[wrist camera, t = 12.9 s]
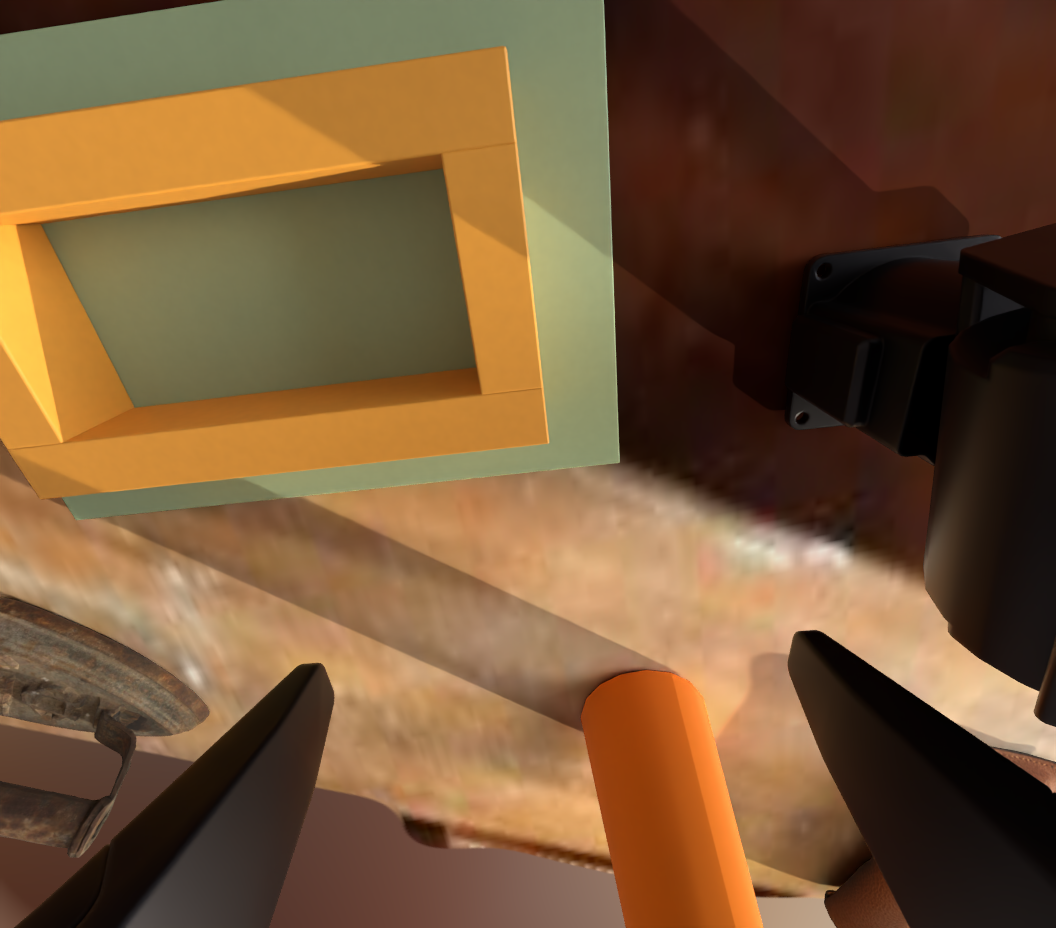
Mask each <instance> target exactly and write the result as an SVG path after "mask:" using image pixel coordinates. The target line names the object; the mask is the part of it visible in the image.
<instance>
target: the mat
mask: <svg viewBox="0 0 1056 928" xmlns="http://www.w3.org/2000/svg"><path fill="white" fill-rule="evenodd" d="M498 46H505V47H506V49H507V53H508V63H509V72H510V81H511V90H512V100H513V109H514V118H515V128H516V137H517V146H518V156H519V165H520V174H521V184H522V193H523V202H524V211H525V221H526V230H527V239H528V249H529V258H530V267H531V277H532V286H533V295H534V305H535V314H536V323H537V332H538V342H539V351H540V360H541V370H542V379H543V388H544V398H545V407H546V416H547V426H548V435H549V443H548V444H541V445H532V446H523V447H513V448H504V449H495V450H486V451H477V452H468V453H459V454H450V455H441V456H432V457H423V458H414V459H405V460H396V461H387V462H377V463H368V464H359V465H350V466H341V467H332V468H323V469H314V470H305V471H296V472H287V473H278V474H269V475H260V476H250V477H241V478H232V479H223V480H214V481H205V482H196V483H187V484H178V485H169V486H160V487H151V488H142V489H133V490H124V491H114V492H105V493H96V494H87V495H78V496H69V497H62V499H63V501H64V502H65V504H66V505H67V507H68V508H69V510H70V511H71V513H72V515H73V516H74V518H75V519H76V520H83V519H92V518H102V517H111V516H120V515H130V514H139V513H149V512H158V511H168V510H177V509H187V508H196V507H206V506H215V505H225V504H234V503H243V502H253V501H262V500H272V499H281V498H291V497H300V496H310V495H319V494H329V493H338V492H348V491H357V490H366V489H376V488H385V487H395V486H404V485H414V484H423V483H433V482H442V481H452V480H461V479H471V478H480V477H489V476H499V475H508V474H518V473H527V472H537V471H546V470H556V469H565V468H575V467H584V466H594V465H603V464H612V463H619V462H620V461H619V432H618V403H617V373H616V344H615V315H614V285H613V256H612V227H611V197H610V168H609V139H608V109H607V80H606V50H605V21H604V0H223V1H216V2H210V3H203V4H197V5H190V6H184V7H177V8H171V9H164V10H158V11H151V12H145V13H138V14H132V15H125V16H119V17H112V18H106V19H99V20H93V21H86V22H80V23H74V24H67V25H61V26H54V27H48V28H41V29H35V30H28V31H22V32H15V33H9V34H2V35H0V121H2V120H8V119H15V118H22V117H28V116H35V115H42V114H49V113H55V112H62V111H69V110H75V109H82V108H89V107H96V106H102V105H109V104H116V103H122V102H129V101H136V100H143V99H149V98H156V97H163V96H169V95H176V94H183V93H190V92H196V91H203V90H210V89H216V88H223V87H230V86H237V85H243V84H250V83H257V82H263V81H270V80H277V79H284V78H290V77H297V76H304V75H310V74H317V73H324V72H331V71H337V70H344V69H351V68H357V67H364V66H371V65H378V64H384V63H391V62H398V61H404V60H411V59H418V58H425V57H431V56H438V55H445V54H451V53H458V52H465V51H472V50H478V49H485V48H492V47H498ZM41 226H42V227H43V229H44V231H45V233H46V235H47V237H48V239H49V241H50V243H51V245H52V247H53V249H54V251H55V253H56V255H57V257H58V259H59V261H60V263H61V264H62V266H63V268H64V270H65V272H66V274H67V276H68V278H69V280H70V282H71V284H72V286H73V288H74V290H75V292H76V294H77V296H78V298H79V300H80V302H81V304H82V306H83V307H84V309H85V311H86V313H87V315H88V317H89V319H90V321H91V323H92V325H93V327H94V329H95V331H96V333H97V335H98V337H99V339H100V341H101V343H102V345H103V347H104V349H105V350H106V352H107V354H108V356H109V358H110V360H111V362H112V364H113V366H114V368H115V370H116V372H117V374H118V376H119V378H120V380H121V382H122V384H123V386H124V388H125V390H126V392H127V393H128V395H129V397H130V399H131V401H132V403H133V405H134V408H137V407H146V406H154V405H162V404H171V403H179V402H188V401H196V400H205V399H213V398H222V397H230V396H238V395H247V394H255V393H264V392H272V391H281V390H289V389H298V388H306V387H315V386H323V385H331V384H340V383H348V382H357V381H365V380H374V379H382V378H391V377H399V376H407V375H416V374H424V373H433V372H441V371H450V370H458V369H467V368H475V367H476V361H475V355H474V349H473V343H472V338H471V332H470V326H469V320H468V314H467V308H466V302H465V296H464V290H463V284H462V278H461V272H460V266H459V260H458V255H457V249H456V243H455V237H454V231H453V225H452V219H451V213H450V207H449V201H448V195H447V189H446V183H445V177H444V172H443V169H437V170H429V171H422V172H415V173H408V174H400V175H393V176H386V177H379V178H371V179H364V180H357V181H350V182H342V183H335V184H328V185H321V186H313V187H306V188H299V189H292V190H284V191H277V192H270V193H263V194H255V195H248V196H241V197H234V198H226V199H219V200H212V201H205V202H197V203H190V204H183V205H176V206H168V207H161V208H154V209H147V210H139V211H132V212H125V213H118V214H110V215H103V216H96V217H89V218H81V219H74V220H67V221H60V222H52V223H45V224H41Z"/></svg>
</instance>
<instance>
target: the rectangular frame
mask: <svg viewBox="0 0 1056 928" xmlns="http://www.w3.org/2000/svg"><path fill="white" fill-rule="evenodd" d="M437 169H443V172H444V177H445V183H446V189H447V195H448V201H449V207H450V213H451V219H452V225H453V231H454V237H455V243H456V249H457V255H458V260H459V266H460V272H461V278H462V284H463V290H464V296H465V302H466V308H467V314H468V320H469V326H470V332H471V338H472V343H473V349H474V355H475V361H476V367H475V368H467V369H458V370H450V371H441V372H433V373H424V374H416V375H407V376H399V377H391V378H382V379H374V380H365V381H357V382H348V383H340V384H331V385H323V386H315V387H306V388H298V389H289V390H281V391H272V392H264V393H255V394H247V395H238V396H230V397H222V398H213V399H205V400H196V401H188V402H179V403H171V404H162V405H154V406H146V407H137V408H134V405H133V403H132V401H131V399H130V397H129V395H128V393H127V392H126V390H125V388H124V386H123V384H122V382H121V380H120V378H119V376H118V374H117V372H116V370H115V368H114V366H113V364H112V362H111V360H110V358H109V356H108V354H107V352H106V350H105V349H104V347H103V345H102V343H101V341H100V339H99V337H98V335H97V333H96V331H95V329H94V327H93V325H92V323H91V321H90V319H89V317H88V315H87V313H86V311H85V309H84V307H83V306H82V304H81V302H80V300H79V298H78V296H77V294H76V292H75V290H74V288H73V286H72V284H71V282H70V280H69V278H68V276H67V274H66V272H65V270H64V268H63V266H62V264H61V263H60V261H59V259H58V257H57V255H56V253H55V251H54V249H53V247H52V245H51V243H50V241H49V239H48V237H47V235H46V233H45V231H44V229H43V227H42V226H41V224H45V223H52V222H60V221H67V220H74V219H81V218H89V217H96V216H103V215H110V214H118V213H125V212H132V211H139V210H147V209H154V208H161V207H168V206H176V205H183V204H190V203H197V202H205V201H212V200H219V199H226V198H234V197H241V196H248V195H255V194H263V193H270V192H277V191H284V190H292V189H299V188H306V187H313V186H321V185H328V184H335V183H342V182H350V181H357V180H364V179H371V178H379V177H386V176H393V175H400V174H408V173H415V172H422V171H429V170H437ZM0 439H1V441H2V442H3V444H4V445H5V447H6V448H7V449H8V452H9V453H10V455H11V456H12V458H13V459H14V461H15V462H16V464H17V465H18V467H19V468H20V470H21V471H22V473H23V474H24V476H25V477H26V479H27V480H28V482H29V483H30V485H31V486H32V488H33V489H34V491H35V492H36V494H37V495H38V497H39V498H40V499H51V498H60V497H69V496H78V495H87V494H96V493H105V492H114V491H124V490H133V489H142V488H151V487H160V486H169V485H178V484H187V483H196V482H205V481H214V480H223V479H232V478H241V477H250V476H260V475H269V474H278V473H287V472H296V471H305V470H314V469H323V468H332V467H341V466H350V465H359V464H368V463H377V462H387V461H396V460H405V459H414V458H423V457H432V456H441V455H450V454H459V453H468V452H477V451H486V450H495V449H504V448H513V447H523V446H532V445H541V444H548V443H549V435H548V426H547V416H546V407H545V398H544V388H543V379H542V370H541V360H540V351H539V342H538V332H537V323H536V314H535V305H534V295H533V286H532V277H531V267H530V258H529V249H528V239H527V230H526V221H525V211H524V202H523V193H522V184H521V174H520V165H519V156H518V146H517V137H516V128H515V118H514V109H513V100H512V90H511V81H510V72H509V63H508V53H507V49H506V47H505V46H498V47H492V48H485V49H478V50H472V51H465V52H458V53H451V54H445V55H438V56H431V57H425V58H418V59H411V60H404V61H398V62H391V63H384V64H378V65H371V66H364V67H357V68H351V69H344V70H337V71H331V72H324V73H317V74H310V75H304V76H297V77H290V78H284V79H277V80H270V81H263V82H257V83H250V84H243V85H237V86H230V87H223V88H216V89H210V90H203V91H196V92H190V93H183V94H176V95H169V96H163V97H156V98H149V99H143V100H136V101H129V102H122V103H116V104H109V105H102V106H96V107H89V108H82V109H75V110H69V111H62V112H55V113H49V114H42V115H35V116H28V117H22V118H15V119H8V120H2V121H0Z"/></svg>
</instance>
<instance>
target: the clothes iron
mask: <svg viewBox="0 0 1056 928" xmlns="http://www.w3.org/2000/svg"><path fill="white" fill-rule="evenodd" d="M0 715H2V716H7V717H12V718H16V719H21V720H25V721H30V722H35V723H40V724H44V725H49V726H55V727H60V728H66V729H72V730H78V731H86V732H94V733H95V738H96V739H97V740H98V741H99V742H100V743H102V744H103V745H105V746H107V747H109V748H111V749H112V750H114V751H116V752H118V753H119V754H120V755H121V756H122V760H123V761H122V767H121V769H120V772H119V774H118V776H117V779H116V781H115V784H114V787H113V789H112V792H111V794H110V796H105V797H103V798H101V799H100V800H89V799H84V798H78V797H75V796H70V795H65V794H60V793H56V792H49V791H44V790H40V789H35V788H31V787H26V786H21V785H16V784H10V783H6V782H2V781H0V836H2V837H8V838H13V839H20V840H24V841H28V842H33V843H39V844H43V845H50V846H55V847H62V848H68V853H67V854H68V856H69V857H80V856H81V855H82V854H83V853H84V852H85V851H86V850H87V849H88V848H89V846H90V845H91V844H92V843H93V842H94V840H95V838H96V837H97V835H98V833H99V831H100V829H101V827H102V825H103V824H104V822H105V821H106V819H107V818H108V816H109V814H110V811H111V809H112V806H113V803H114V801H115V798H116V796H117V794H118V791H119V789H120V787H121V785H122V782H123V779H124V777H125V775H126V773H127V772H128V770H129V767H130V764H131V759H132V756H133V753H134V751H135V748H136V736H171V735H175V734H179V733H182V732H185V731H189V730H191V729H193V728H194V727H196V726H197V725H198V724H200V723H202V722H203V721H204V720H205V719H206V718H207V717H208V715H209V710H208V708H207V706H206V705H205V704H204V702H203V701H202V700H201V699H200V698H199V697H198V696H197V695H196V694H195V693H194V692H193V691H192V690H191V689H190V688H188V687H187V686H186V685H185V684H183V683H182V682H181V681H180V680H178V679H177V678H176V677H174V676H173V675H172V674H170V673H169V672H167V671H166V670H164V669H163V668H161V667H160V666H158V665H157V664H155V663H154V662H152V661H150V660H149V659H147V658H145V657H144V656H142V655H140V654H139V653H137V652H135V651H133V650H131V649H129V648H127V647H125V646H123V645H121V644H119V643H117V642H115V641H114V640H111V639H109V638H107V637H105V636H103V635H101V634H99V633H97V632H95V631H92V630H90V629H88V628H86V627H83V626H81V625H78V624H76V623H74V622H71V621H69V620H67V619H65V618H62V617H60V616H57V615H54V614H52V613H50V612H48V611H45V610H43V609H40V608H37V607H35V606H32V605H29V604H26V603H23V602H20V601H16V600H13V599H8V598H0Z"/></svg>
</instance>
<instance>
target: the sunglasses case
mask: <svg viewBox="0 0 1056 928" xmlns="http://www.w3.org/2000/svg"><path fill="white" fill-rule="evenodd" d="M991 748H993V749H994V750H996V751H997V752H998V753H1000V754H1001V755H1003V756H1004V757H1006V758H1007V759H1009V760H1010V761H1012V762H1013V763H1015V764H1016V765H1017V766H1019V767H1020V768H1022V769H1023V770H1025V771H1026V772H1028V773H1029V774H1031V775H1032V776H1034V777H1035V778H1037V779H1038V780H1039V781H1041V782H1042V783H1044V784H1045V785H1047V786H1048V787H1050V789H1051V790H1052V792H1056V762H1054V761H1050V760H1046V759H1043V758H1040V757H1036V756H1033V755H1030V754H1025V753H1021V752H1017V751H1012V750H1007V749H1001V748H995V747H991ZM824 904H825V907H826V909H827V911H828V914H829V916H830V918H831V920H832V921H833V922H834V924H835V926H836V927H837V928H909V926H908V924H907V922H906V920H905V918H904V916H903V914H902V912H901V910H900V908H899V906H898V904H897V902H896V900H895V898H894V896H893V895H892V893H891V891H890V889H889V887H888V885H887V883H886V881H885V879H884V877H883V875H882V873H881V871H880V869H879V867H878V865H877V863H876V861H875V859H874V857H873V856H872V858H871V859H870V860H869V861H867V862H866V863H864V864H863V865H862V866H861V867H859V868H858V870H857V871H856V872H855V873H854V874H853V875H852V876H851V877H850V878H849V879H848V880H847V881H846V882H845V883H844V884H843V885H842V886H841V887H840V888H839V889H838V890H837V891H833V890H827V891H826V893H825V900H824Z"/></svg>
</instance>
